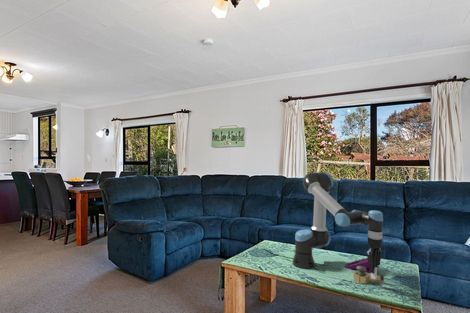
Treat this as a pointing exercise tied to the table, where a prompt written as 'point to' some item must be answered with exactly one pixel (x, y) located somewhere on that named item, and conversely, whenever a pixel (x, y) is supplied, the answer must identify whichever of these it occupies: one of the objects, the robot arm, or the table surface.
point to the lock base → (362, 273)
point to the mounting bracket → (359, 263)
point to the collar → (365, 278)
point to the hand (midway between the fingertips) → (373, 278)
